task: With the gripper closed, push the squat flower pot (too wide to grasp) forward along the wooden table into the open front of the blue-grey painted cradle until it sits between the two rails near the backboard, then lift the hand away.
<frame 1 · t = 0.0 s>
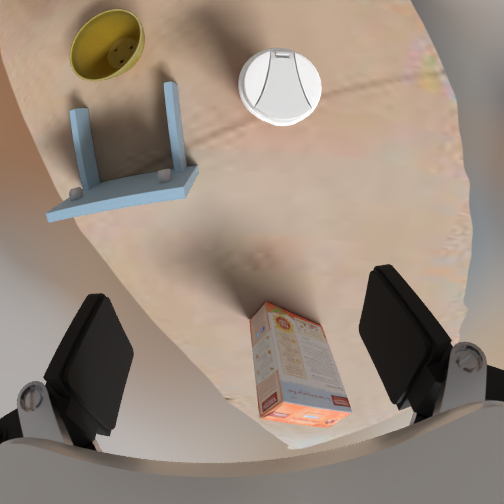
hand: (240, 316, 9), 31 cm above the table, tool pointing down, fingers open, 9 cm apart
cradle: (131, 135, 33), on the table
cracker box: (286, 323, 52), on the table
paper cup: (264, 95, 33), on the table
flower pot: (124, 53, 27), on the table
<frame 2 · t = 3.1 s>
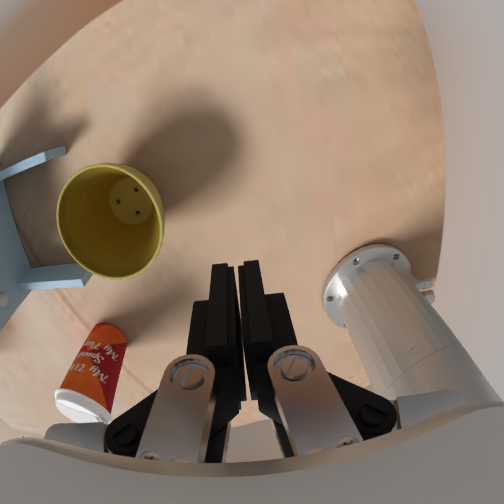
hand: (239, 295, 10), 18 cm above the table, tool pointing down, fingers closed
cradle: (43, 218, 26), on the table
paper cup: (109, 336, 35), on the table
flower pot: (133, 198, 26), on the table
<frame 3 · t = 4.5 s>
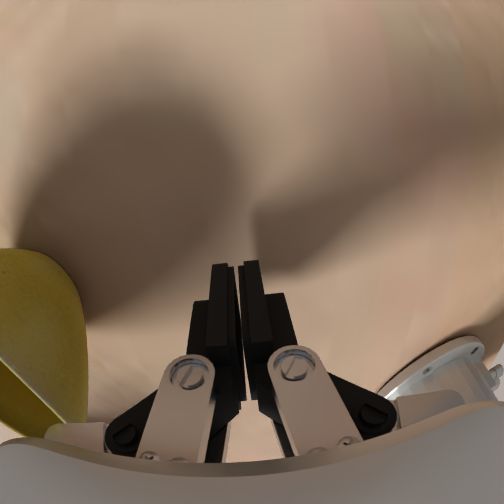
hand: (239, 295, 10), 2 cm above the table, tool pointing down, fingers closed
flower pot: (47, 288, 12), on the table
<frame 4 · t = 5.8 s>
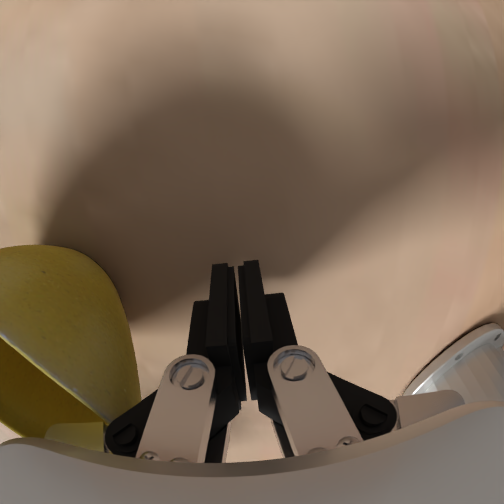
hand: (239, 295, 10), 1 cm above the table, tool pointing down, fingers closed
flower pot: (78, 289, 12), on the table, touching gripper
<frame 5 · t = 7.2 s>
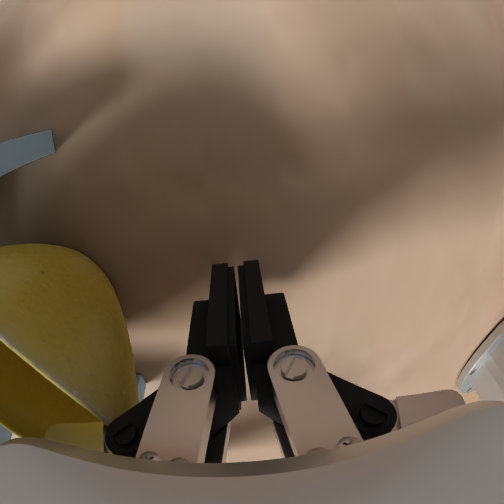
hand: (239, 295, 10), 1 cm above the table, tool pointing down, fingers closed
cradle: (20, 293, 11), on the table
flower pot: (75, 288, 11), on the table, touching gripper
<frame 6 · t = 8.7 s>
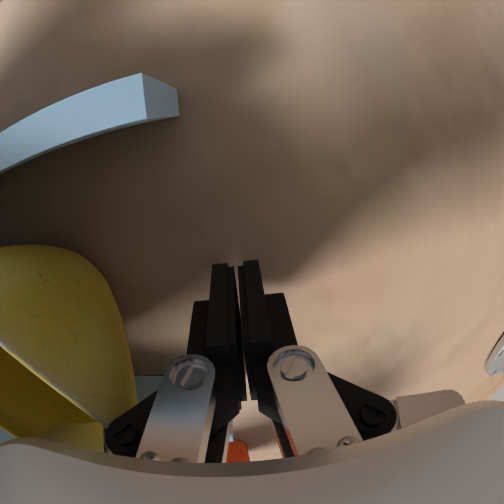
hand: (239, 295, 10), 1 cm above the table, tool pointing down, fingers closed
cradle: (85, 290, 11), on the table
paper cup: (216, 445, 21), on the table
flower pot: (72, 289, 11), on the table, touching cradle, gripper
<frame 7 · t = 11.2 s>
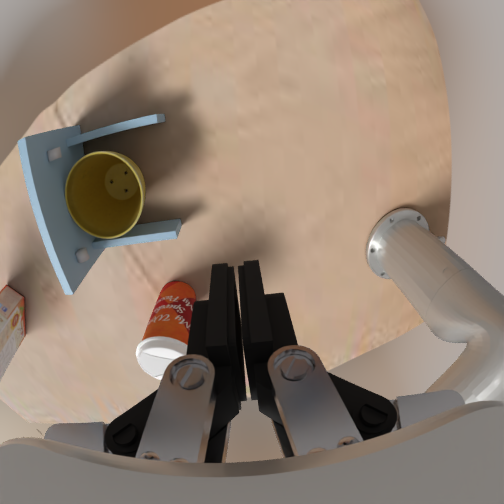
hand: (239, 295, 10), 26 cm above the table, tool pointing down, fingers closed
cradle: (129, 179, 32), on the table
cracker box: (16, 310, 41), on the table
paper cup: (178, 294, 42), on the table
flower pot: (123, 180, 32), on the table
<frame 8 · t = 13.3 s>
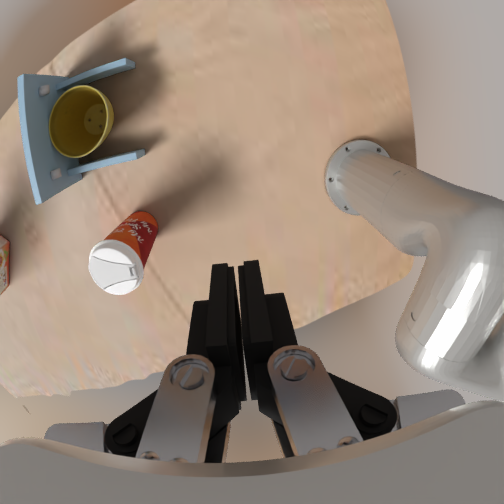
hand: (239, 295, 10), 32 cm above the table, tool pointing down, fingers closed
cradle: (103, 117, 33), on the table
cracker box: (2, 258, 42), on the table
paper cup: (142, 226, 43), on the table
flower pot: (99, 118, 33), on the table
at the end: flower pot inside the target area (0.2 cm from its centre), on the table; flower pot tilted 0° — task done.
